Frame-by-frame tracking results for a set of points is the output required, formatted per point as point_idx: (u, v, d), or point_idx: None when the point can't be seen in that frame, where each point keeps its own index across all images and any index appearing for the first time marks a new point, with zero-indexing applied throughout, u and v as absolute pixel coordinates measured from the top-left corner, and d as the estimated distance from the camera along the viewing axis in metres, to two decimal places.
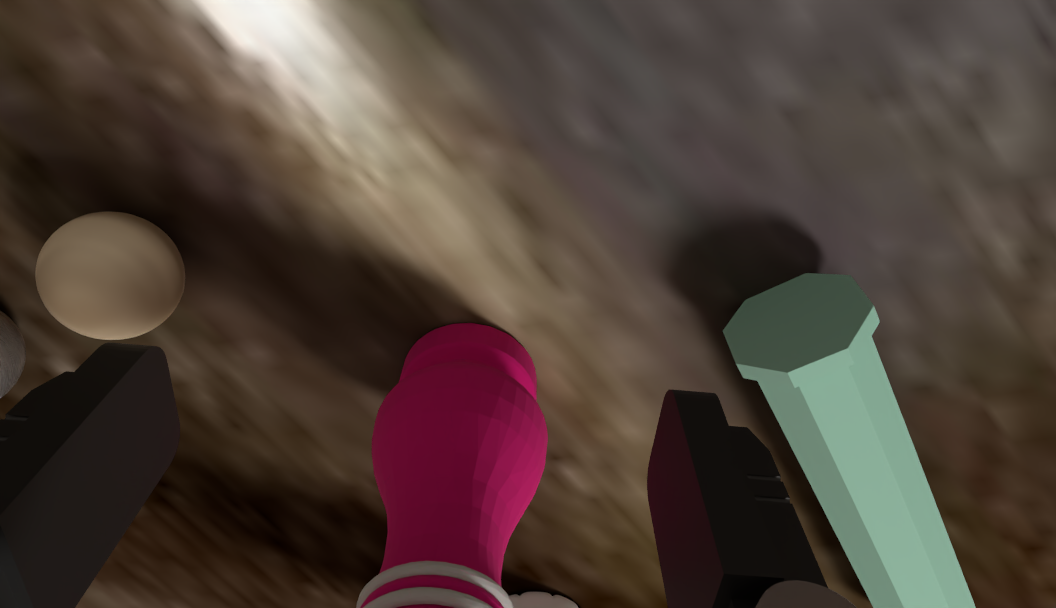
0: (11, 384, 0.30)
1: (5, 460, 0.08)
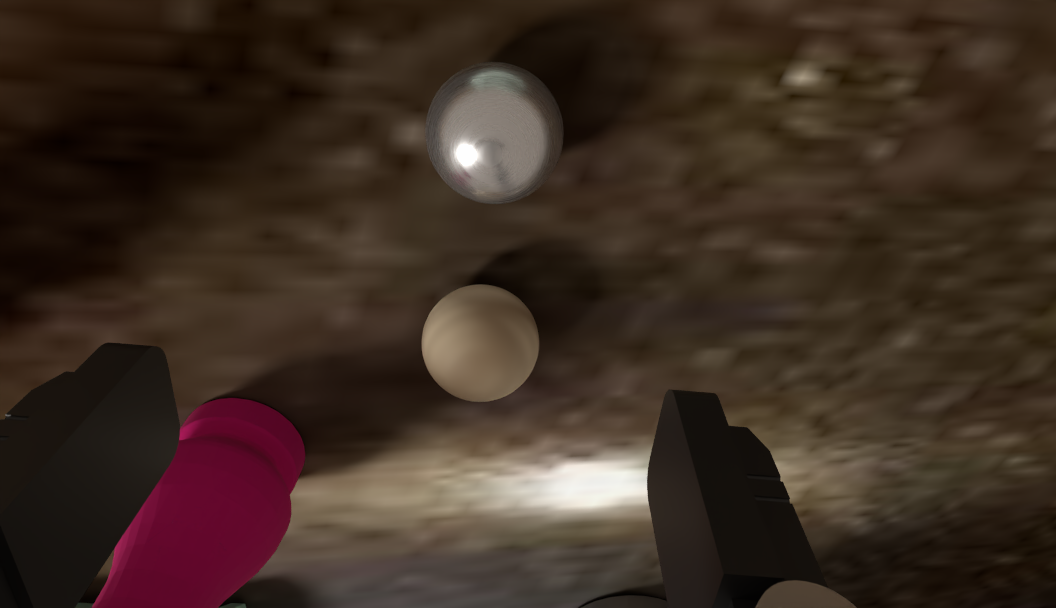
0: None
1: (5, 460, 0.08)
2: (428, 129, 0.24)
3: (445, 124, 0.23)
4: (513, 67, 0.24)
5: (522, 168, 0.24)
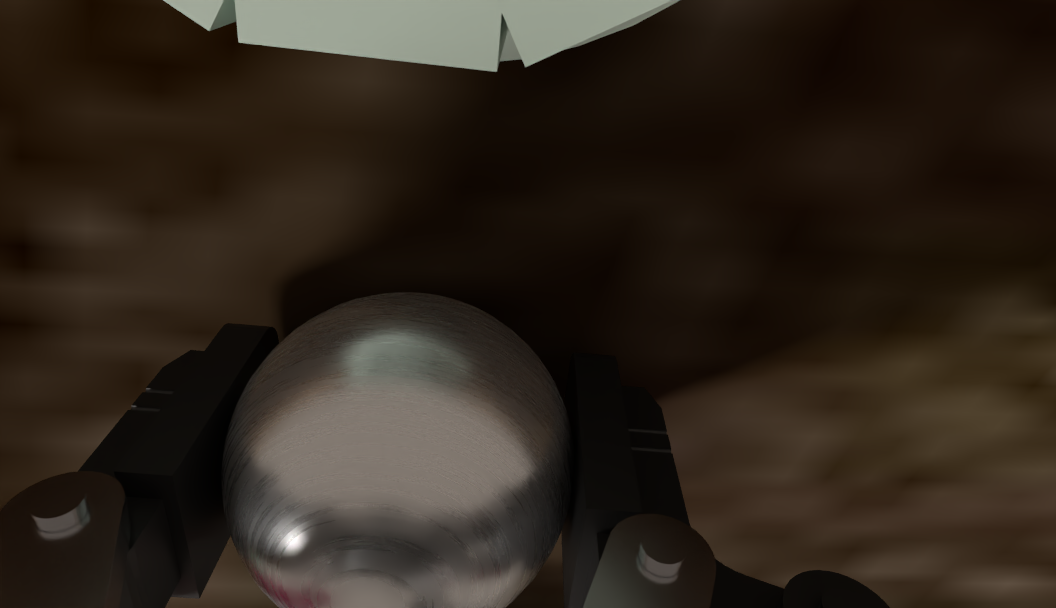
0: None
1: (165, 426, 0.09)
2: (222, 488, 0.09)
3: (247, 511, 0.08)
4: (440, 329, 0.09)
5: None
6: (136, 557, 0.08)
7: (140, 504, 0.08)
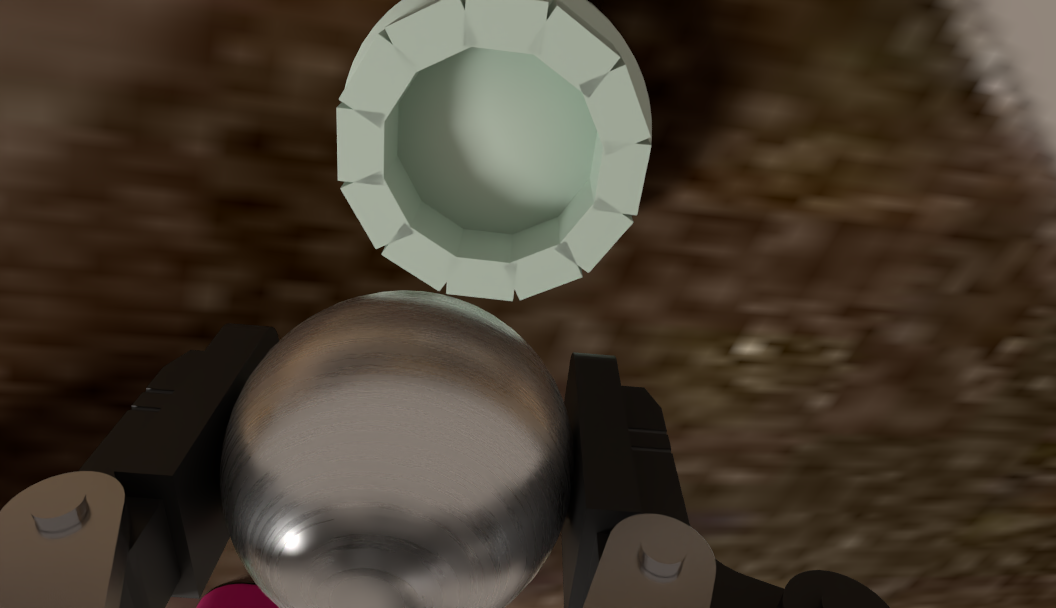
0: None
1: (166, 426, 0.09)
2: (220, 486, 0.09)
3: (246, 510, 0.08)
4: (440, 328, 0.09)
5: None
6: (136, 557, 0.08)
7: (140, 504, 0.08)
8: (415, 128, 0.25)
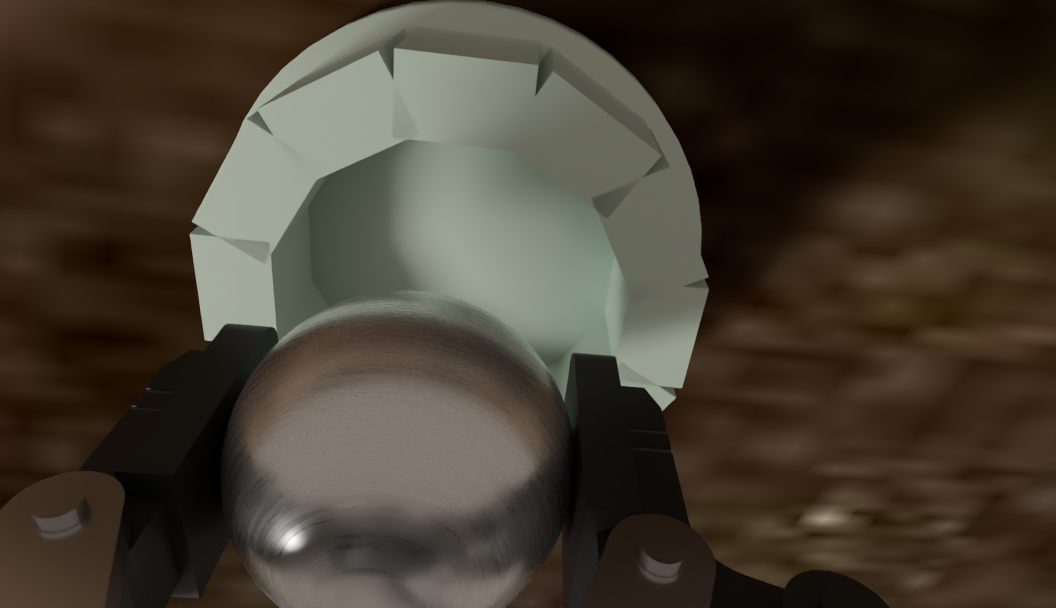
0: None
1: (165, 426, 0.09)
2: None
3: (247, 509, 0.08)
4: (440, 327, 0.09)
5: None
6: (135, 557, 0.08)
7: (140, 504, 0.08)
8: (337, 243, 0.16)
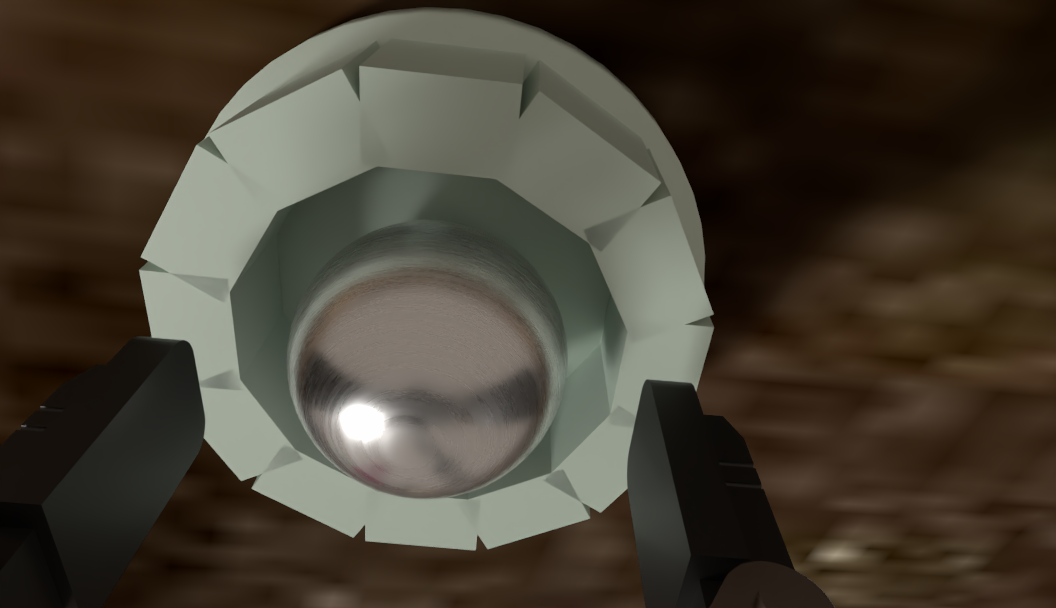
0: None
1: (45, 449, 0.08)
2: (288, 368, 0.12)
3: (313, 377, 0.11)
4: (462, 241, 0.11)
5: (482, 462, 0.11)
6: None
7: (8, 534, 0.08)
8: (309, 272, 0.15)
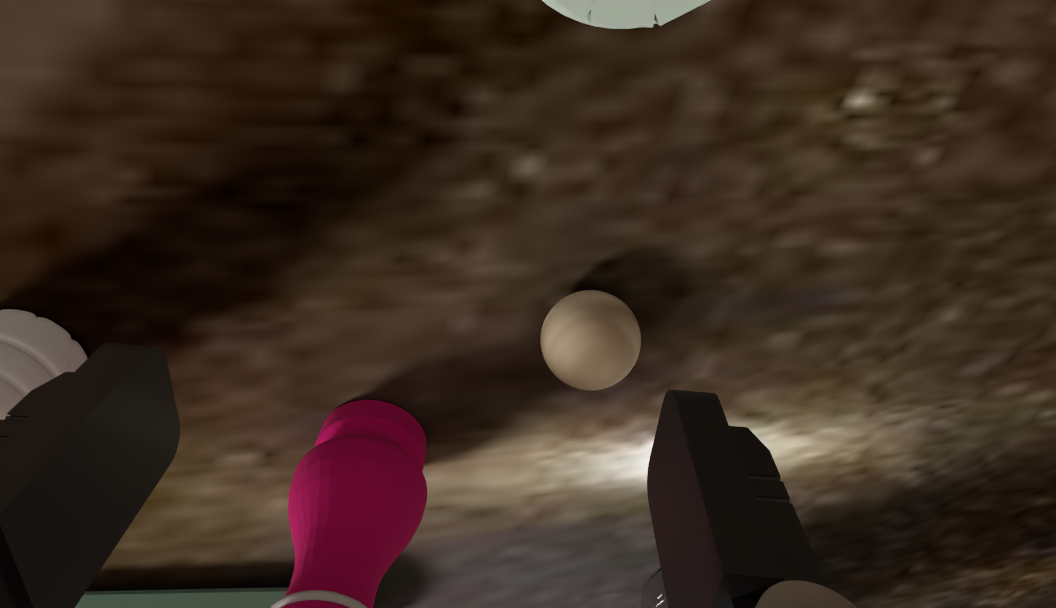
0: None
1: (5, 460, 0.08)
2: None
3: None
4: None
5: None
6: None
7: None
8: None
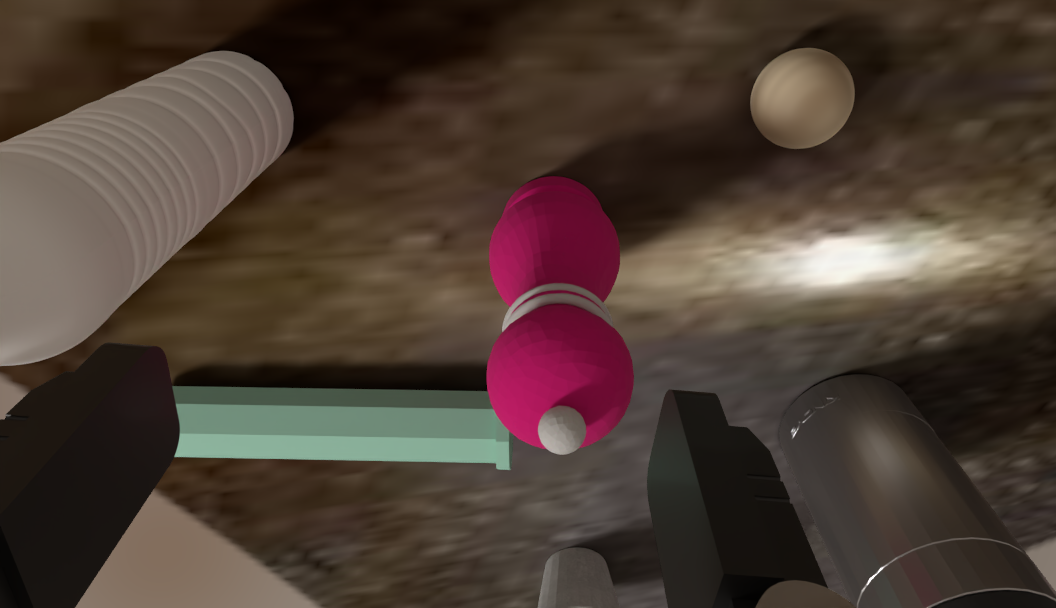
0: None
1: (6, 460, 0.08)
2: None
3: None
4: None
5: None
6: None
7: None
8: None
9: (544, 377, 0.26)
